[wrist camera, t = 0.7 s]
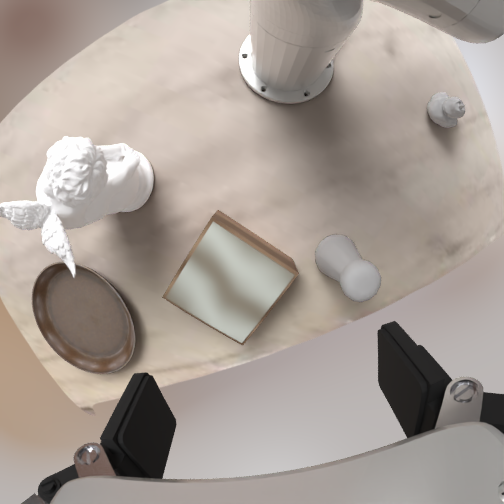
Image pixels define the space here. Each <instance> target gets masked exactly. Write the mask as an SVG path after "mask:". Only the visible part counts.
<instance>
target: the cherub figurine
mask: <svg viewBox="0 0 504 504" xmlns="http://www.w3.org/2000/svg"><path fill="white" fill-rule="evenodd" d="M47 157H48V160H47V163H46V166H45V167H44V170H43V172H42V174H41V176H40V178H39V180H38V182H37V186H36V196H37V200H38V202H37V201H34V202H32V201H17V202H15V201H13V202H4V203H2V204H0V217H4V218H7V219H8V220H10V221H11V224H13V225H14V226H15V227H17V228H19V229H22V230H26V229H27V230H33V229H37V228H38V227H39V228H41V233H42V238H43V239H42V242H43V245H45V246H46V248H47V249H48V251H49V252H50V253H52V254H53V253H54V254H56V255H57V256H58V257H59V258H60V259H62V260H63V262H64V263H65V264H66V265H67V266H68V268H69V269H70V271H71V273H72V275H73V277H74V278H75V275H76V267H75V262H74V256H73V252H72V249H71V244H70V242H69V239H68V236H67V234H66V232H65V229H74V228H81V227H84V226H86V225H89V224H91V223H93V222H96V221H98V220H100V219H102V218H103V217H104V216H105V215H109V214H114V213H117V212H131V211H134V210H136V209H138V208H140V207H141V206H143V204H145V202H146V201H147V200H148V198H149V196H150V194H151V192H152V189H153V182H154V175H153V170H152V167H151V164H150V163H149V161H148V160H147V158H146V157H145V156H144V155H143V154H141V153H140V152H138V151H135V150H134V149H131V148H130V147H129V146H128V145H126V144H125V143H120V144H115V145H110V146H108V145H104V146H96V145H93V143H92V141H91V139H90V138H82V137H76V138H74V137H68V136H65V137H64V138H63V140H62V141H58V142H56V143H55V144H54V145H53V146H52V147H51V148H50V149H49V150H48V152H47Z"/></svg>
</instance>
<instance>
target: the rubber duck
mask: <svg viewBox="0 0 504 504" xmlns="http://www.w3.org/2000/svg"><path fill="white" fill-rule="evenodd" d="M464 106H465V105H464V104H463V103H462V101H461V100H460V99H459V98H458V97H451V98H450V97H449V96H448V95H447V93H445V92H440V93H436V94H434V95H433V96H432V97H431V100H430V102H428V106H427V110H428V113H429V116H430V118H431V119H432V121H433V122H434V123H436V124H439V125H440V126H442V127H445V128H450V127H454V126H456V125H457V118H460V117H462V116H463V115H464V114H465V108H464Z"/></svg>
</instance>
